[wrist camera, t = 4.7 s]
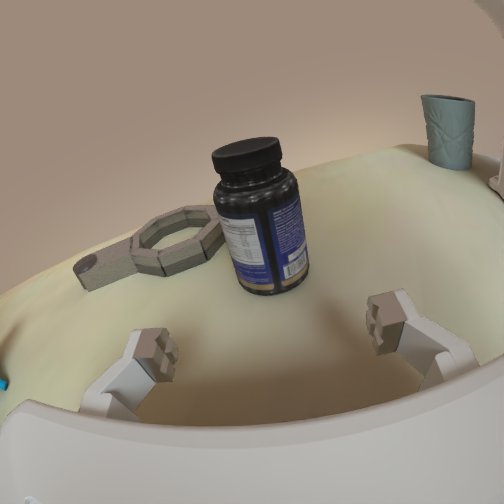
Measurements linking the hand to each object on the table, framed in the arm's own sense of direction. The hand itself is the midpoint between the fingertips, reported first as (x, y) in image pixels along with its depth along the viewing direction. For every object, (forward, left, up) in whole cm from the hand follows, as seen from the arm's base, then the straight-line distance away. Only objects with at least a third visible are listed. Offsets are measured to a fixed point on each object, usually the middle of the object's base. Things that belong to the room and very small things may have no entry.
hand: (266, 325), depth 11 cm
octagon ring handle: (-1, -22, -7) cm, 23 cm away
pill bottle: (-6, -10, -7) cm, 13 cm away
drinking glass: (-46, -12, -7) cm, 48 cm away
